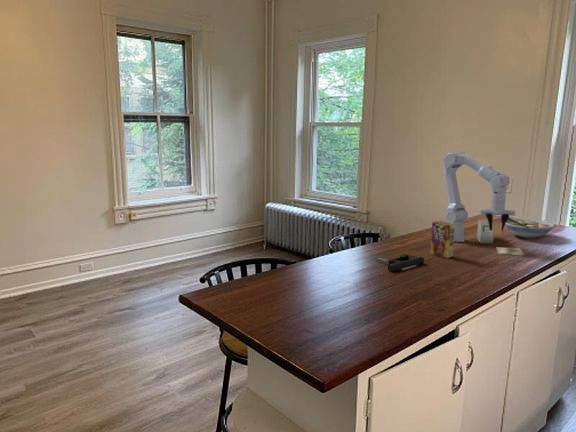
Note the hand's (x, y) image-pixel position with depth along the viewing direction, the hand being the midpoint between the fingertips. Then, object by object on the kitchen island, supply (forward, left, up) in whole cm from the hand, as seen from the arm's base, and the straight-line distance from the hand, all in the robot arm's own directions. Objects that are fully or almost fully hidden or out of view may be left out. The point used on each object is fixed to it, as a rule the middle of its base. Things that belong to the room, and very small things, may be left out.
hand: (496, 230), depth 200 cm
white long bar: (-2, +17, -3) cm, 18 cm away
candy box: (-24, -17, -9) cm, 31 cm away
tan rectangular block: (0, 0, -2) cm, 2 cm away
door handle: (-43, -34, -10) cm, 56 cm away
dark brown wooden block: (-2, +16, -9) cm, 19 cm away
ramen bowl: (+20, +29, -9) cm, 37 cm away
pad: (+6, -4, -9) cm, 11 cm away
